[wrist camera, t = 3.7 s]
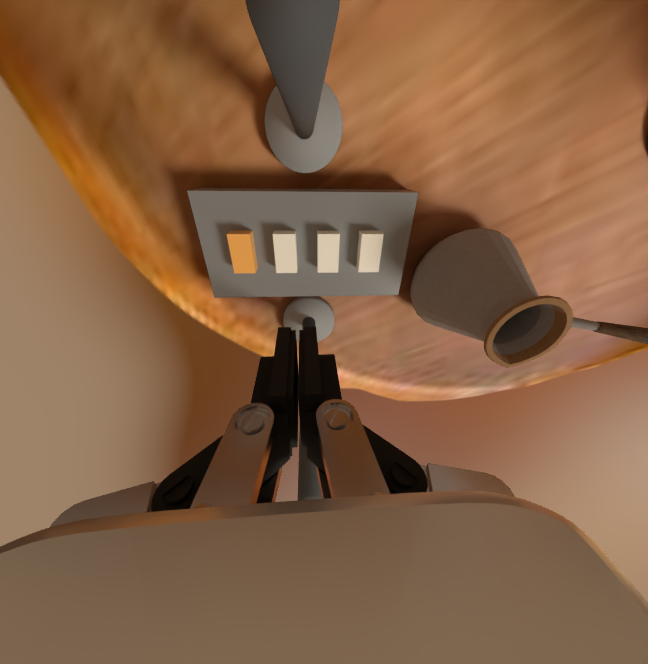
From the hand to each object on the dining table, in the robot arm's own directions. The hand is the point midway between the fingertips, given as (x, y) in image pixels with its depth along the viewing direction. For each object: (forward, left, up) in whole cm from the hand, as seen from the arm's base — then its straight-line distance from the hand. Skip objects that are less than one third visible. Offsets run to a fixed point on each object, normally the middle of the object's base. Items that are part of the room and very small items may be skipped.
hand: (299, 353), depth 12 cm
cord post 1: (0, -10, -19) cm, 21 cm away
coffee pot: (-22, +4, -19) cm, 30 cm away
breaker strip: (0, 0, -19) cm, 19 cm away
